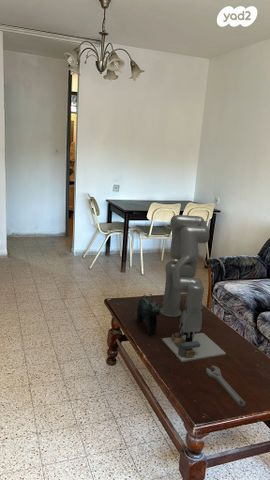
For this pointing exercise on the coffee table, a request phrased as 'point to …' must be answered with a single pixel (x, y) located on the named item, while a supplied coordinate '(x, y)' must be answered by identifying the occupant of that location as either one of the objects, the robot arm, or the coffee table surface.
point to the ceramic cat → (148, 314)
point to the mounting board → (199, 351)
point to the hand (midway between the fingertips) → (188, 343)
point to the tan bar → (179, 339)
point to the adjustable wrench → (225, 384)
